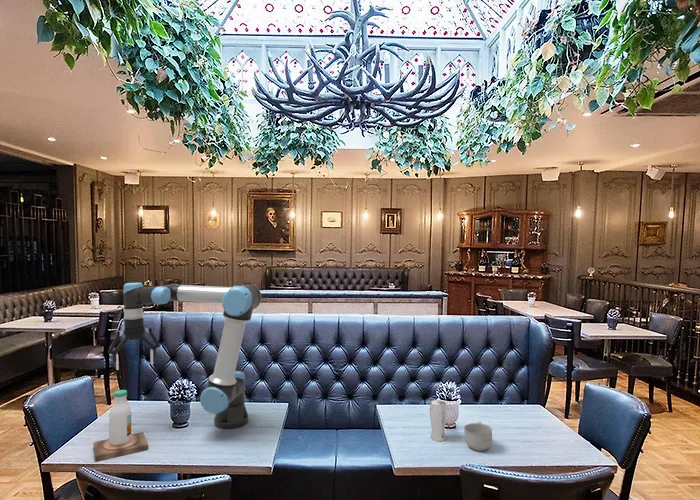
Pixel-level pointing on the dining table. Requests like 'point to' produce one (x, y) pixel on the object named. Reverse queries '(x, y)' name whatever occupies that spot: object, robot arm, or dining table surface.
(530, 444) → the dining table surface
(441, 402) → the beer glass
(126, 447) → the serving board
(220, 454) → the dining table surface
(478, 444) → the teacup
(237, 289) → the robot arm
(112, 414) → the milk bottle
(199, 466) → the dining table surface
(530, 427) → the dining table surface
